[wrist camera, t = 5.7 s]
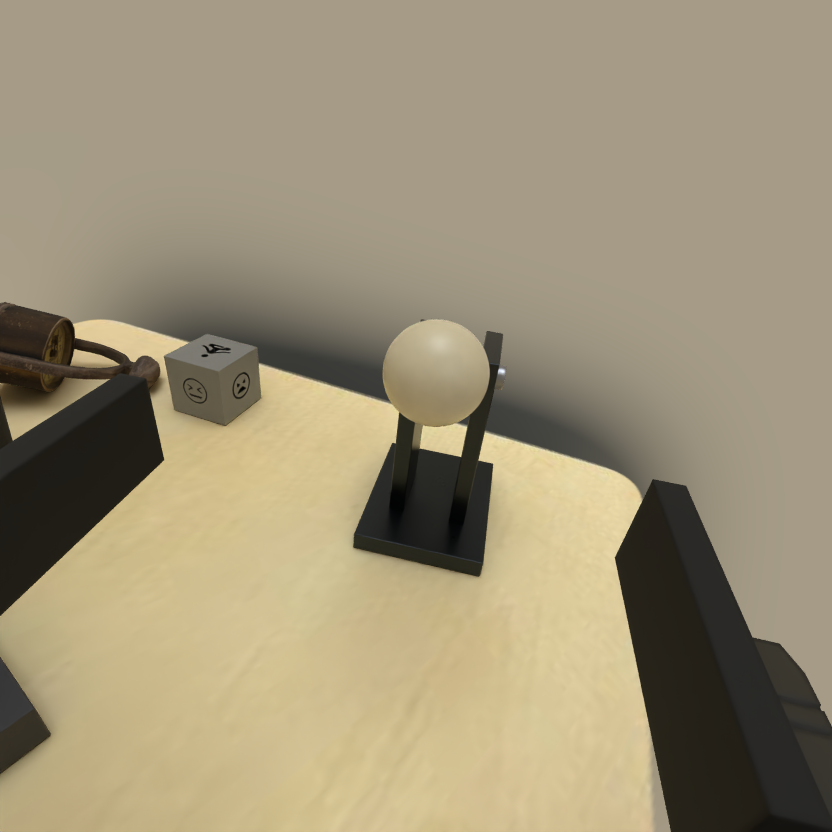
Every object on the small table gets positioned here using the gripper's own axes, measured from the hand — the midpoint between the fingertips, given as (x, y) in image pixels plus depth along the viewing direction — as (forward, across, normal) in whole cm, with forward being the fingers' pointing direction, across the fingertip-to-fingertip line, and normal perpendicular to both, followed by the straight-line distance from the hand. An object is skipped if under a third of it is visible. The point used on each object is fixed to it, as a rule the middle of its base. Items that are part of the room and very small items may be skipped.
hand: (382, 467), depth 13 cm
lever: (+10, +1, -4) cm, 10 cm away
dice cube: (+23, -19, -16) cm, 34 cm away
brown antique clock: (+21, -31, -16) cm, 41 cm away
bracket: (+16, +1, -16) cm, 22 cm away
